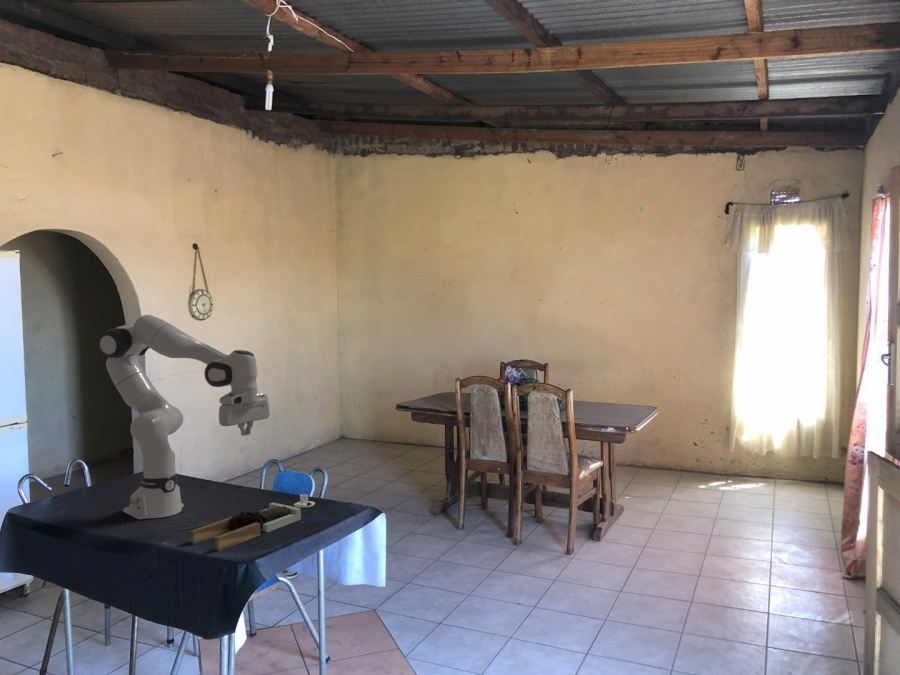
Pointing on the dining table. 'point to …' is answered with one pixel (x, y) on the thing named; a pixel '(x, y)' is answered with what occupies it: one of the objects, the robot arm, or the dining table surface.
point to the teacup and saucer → (303, 501)
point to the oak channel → (227, 538)
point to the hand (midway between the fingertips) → (245, 434)
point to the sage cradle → (280, 522)
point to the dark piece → (257, 517)
